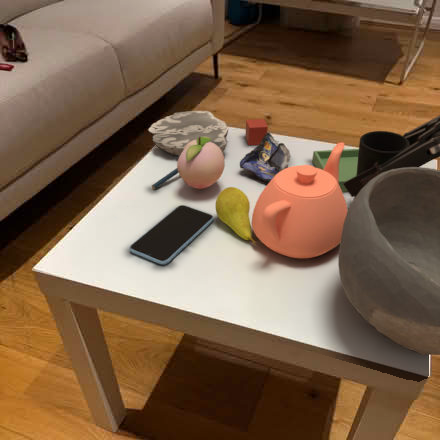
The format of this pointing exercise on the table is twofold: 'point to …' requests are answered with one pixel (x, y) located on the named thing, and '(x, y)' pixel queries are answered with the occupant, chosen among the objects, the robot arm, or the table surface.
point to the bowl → (396, 256)
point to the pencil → (165, 178)
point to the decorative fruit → (201, 163)
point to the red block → (255, 131)
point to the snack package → (267, 158)
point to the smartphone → (171, 234)
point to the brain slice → (188, 130)
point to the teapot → (302, 210)
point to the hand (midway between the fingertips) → (357, 178)
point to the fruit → (235, 211)
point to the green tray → (345, 164)
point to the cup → (379, 148)
